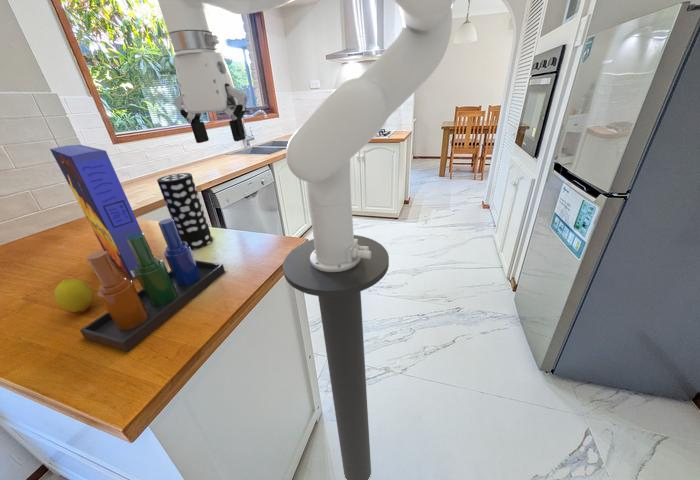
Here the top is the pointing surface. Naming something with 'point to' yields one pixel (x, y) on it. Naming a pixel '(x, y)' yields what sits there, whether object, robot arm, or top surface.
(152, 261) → the green bottle
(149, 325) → the tray
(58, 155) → the cereal box
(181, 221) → the spotted tube
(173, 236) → the blue bottle
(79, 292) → the lemon
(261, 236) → the top surface
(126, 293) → the amber bottle
